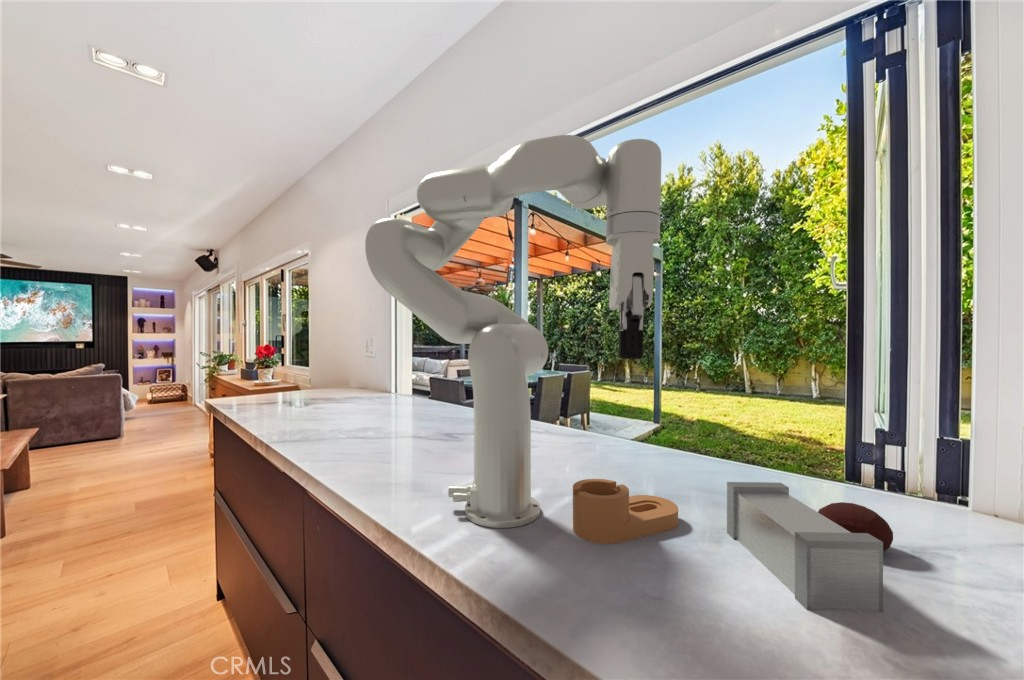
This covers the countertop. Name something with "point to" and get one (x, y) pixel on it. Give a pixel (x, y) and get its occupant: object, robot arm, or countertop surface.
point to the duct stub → (806, 549)
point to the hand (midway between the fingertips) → (630, 357)
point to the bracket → (618, 512)
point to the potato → (859, 521)
